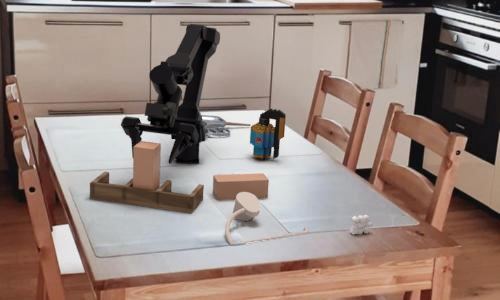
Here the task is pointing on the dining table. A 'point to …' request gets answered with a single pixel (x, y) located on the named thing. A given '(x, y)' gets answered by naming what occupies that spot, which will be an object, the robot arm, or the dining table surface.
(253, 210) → the toilet paper hanger
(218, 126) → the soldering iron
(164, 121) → the robot arm
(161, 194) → the tray
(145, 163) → the clay bar
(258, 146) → the toy
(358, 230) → the white beaded block
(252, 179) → the clay bar
